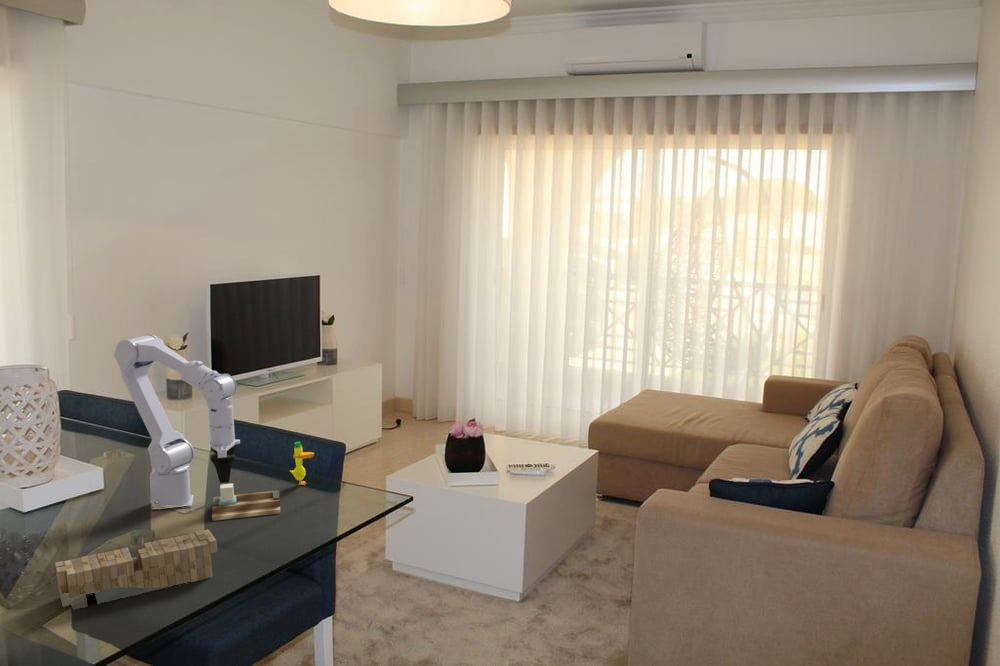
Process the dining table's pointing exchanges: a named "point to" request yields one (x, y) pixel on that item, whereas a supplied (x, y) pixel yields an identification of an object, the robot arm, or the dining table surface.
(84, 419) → the dining table surface
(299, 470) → the toy figure
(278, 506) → the track
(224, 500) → the slider
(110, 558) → the block tower
